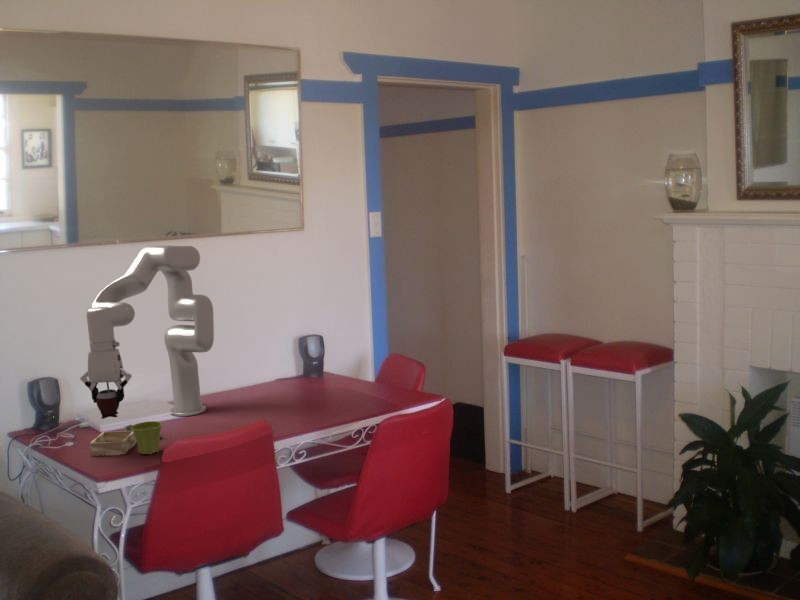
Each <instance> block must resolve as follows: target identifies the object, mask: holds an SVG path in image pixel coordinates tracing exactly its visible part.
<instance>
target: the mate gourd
mask: <svg viewBox="0 0 800 600" xmlns="http://www.w3.org/2000/svg"><path fill="white" fill-rule="evenodd" d="M105 383H106V389H103V390H101V391H100V390H99V393H98V395H97V399H96V406H97V408H98V410H99V411H100V414H101V417H100V418H101V419H102V420H103V419H106V418H109V417H110V418H111V417H112V418H117V417H118V414H119V412H118V409H119V406H120V403H121V402H118V399H117V389H116V390H115V389H110V385H109V382H105Z"/></svg>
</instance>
